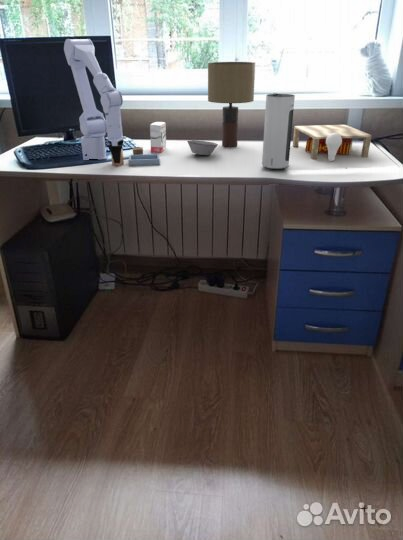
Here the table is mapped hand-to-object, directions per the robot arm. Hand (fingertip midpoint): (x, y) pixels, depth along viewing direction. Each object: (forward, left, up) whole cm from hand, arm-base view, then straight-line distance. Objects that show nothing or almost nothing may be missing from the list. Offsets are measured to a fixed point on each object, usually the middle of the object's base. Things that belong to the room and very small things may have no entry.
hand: (117, 160), depth 167 cm
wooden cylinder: (0, 0, -2) cm, 2 cm away
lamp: (+50, +27, -2) cm, 57 cm away
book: (+92, +11, -2) cm, 93 cm away
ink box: (+17, +22, -2) cm, 28 cm away
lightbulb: (+85, -8, -2) cm, 85 cm away
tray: (+10, +2, -1) cm, 11 cm away
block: (+8, +10, -2) cm, 13 cm away
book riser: (+91, +10, -1) cm, 92 cm away
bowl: (+32, +9, -1) cm, 33 cm away
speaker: (+61, -11, -2) cm, 62 cm away
